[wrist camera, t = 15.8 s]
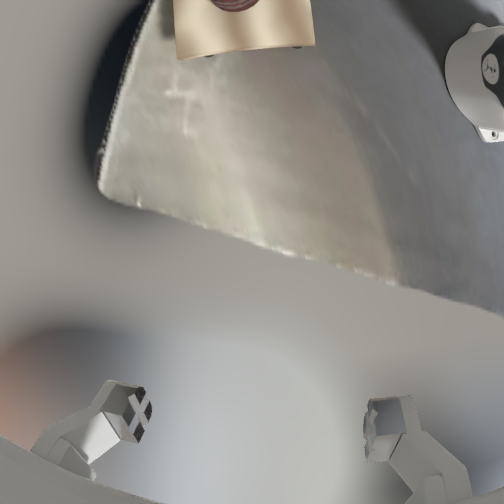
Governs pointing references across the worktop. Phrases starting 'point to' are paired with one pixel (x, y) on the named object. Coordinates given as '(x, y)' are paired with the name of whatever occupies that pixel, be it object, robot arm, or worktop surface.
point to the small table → (240, 27)
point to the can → (234, 4)
